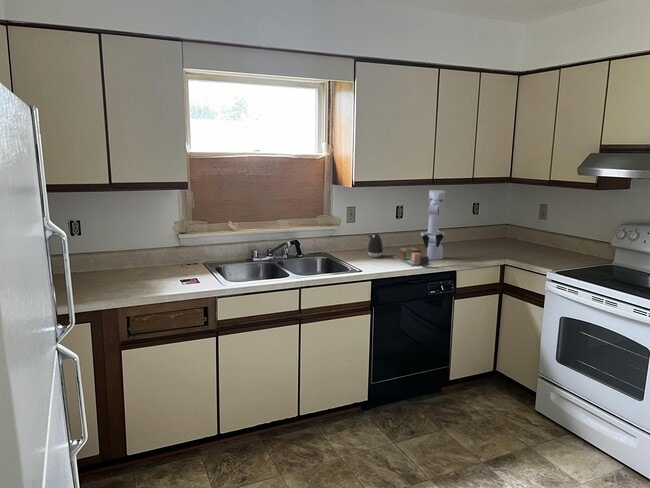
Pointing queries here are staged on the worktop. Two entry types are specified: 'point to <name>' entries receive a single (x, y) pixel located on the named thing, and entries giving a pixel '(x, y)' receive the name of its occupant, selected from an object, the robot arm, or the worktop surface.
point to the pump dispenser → (375, 246)
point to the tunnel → (403, 251)
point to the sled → (421, 260)
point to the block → (416, 256)
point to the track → (408, 260)
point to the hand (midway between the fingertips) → (431, 247)
